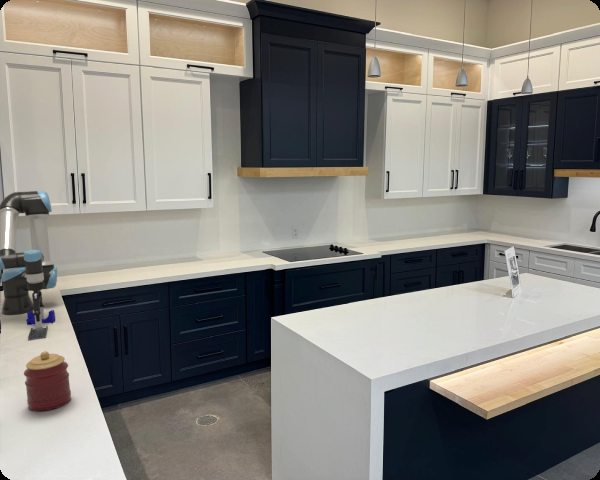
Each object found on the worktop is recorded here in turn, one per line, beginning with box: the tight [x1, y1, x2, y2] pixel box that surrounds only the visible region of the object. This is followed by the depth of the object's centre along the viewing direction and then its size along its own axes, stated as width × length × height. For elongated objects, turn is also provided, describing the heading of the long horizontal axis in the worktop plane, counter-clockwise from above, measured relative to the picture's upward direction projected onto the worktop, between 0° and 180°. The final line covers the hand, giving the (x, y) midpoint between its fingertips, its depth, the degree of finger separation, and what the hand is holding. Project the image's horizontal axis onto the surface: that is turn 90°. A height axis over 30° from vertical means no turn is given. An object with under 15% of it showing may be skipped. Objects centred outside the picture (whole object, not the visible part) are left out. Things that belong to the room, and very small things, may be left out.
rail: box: [27, 325, 49, 341], centre depth 234 cm, size 15×7×1 cm, turn 23°
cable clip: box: [25, 309, 56, 326], centre depth 250 cm, size 12×4×6 cm, turn 93°
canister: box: [23, 350, 72, 412], centre depth 164 cm, size 13×13×18 cm
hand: (40, 323), depth 249 cm, fingers open, 12 cm apart
